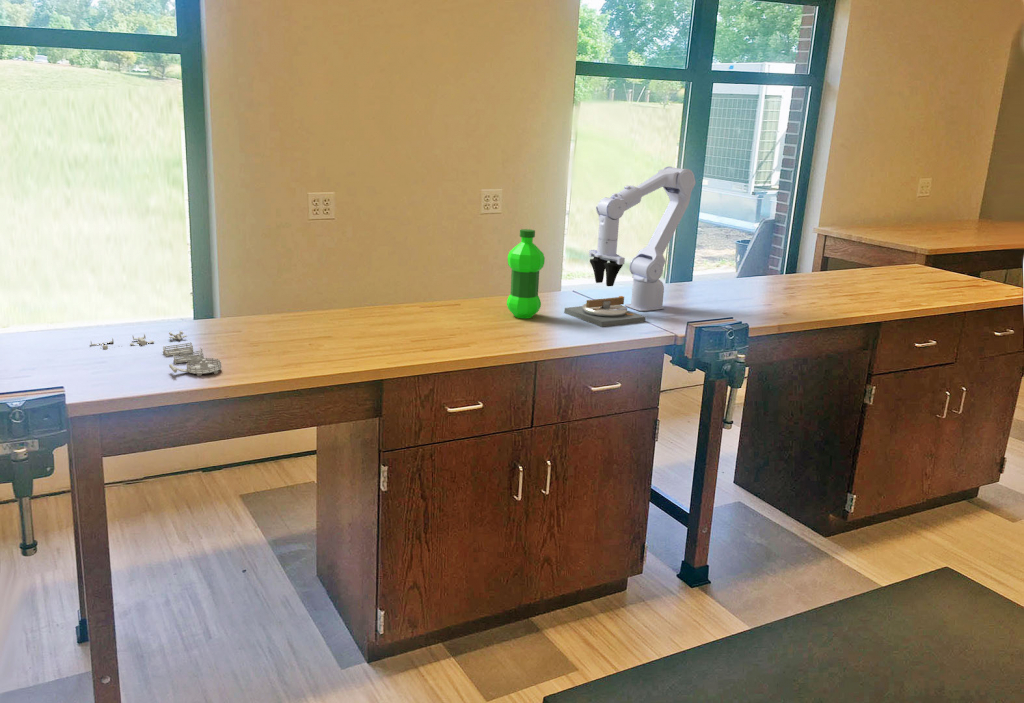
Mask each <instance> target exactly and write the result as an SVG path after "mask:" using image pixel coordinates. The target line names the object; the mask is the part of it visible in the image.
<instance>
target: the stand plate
mask: <svg viewBox="0 0 1024 703" xmlns="http://www.w3.org/2000/svg"><path fill="white" fill-rule="evenodd" d="M563 313H564V314H566V315H568V316H571V317H575V318H577V319H580V320H581V321H585V322H588V323H590V324H593V325H595V326H598V327H601V328H606V327H613V326H614V327H615V326H621V325H628V324H637V323H645V322H646V316H644V315H641V314H638V313H636V312H632V311H631V310H627V314H626V315H623V316H615V317H607V316H597V315H591V314H588V313H585V312H584V311H583V305H581V306H571V307H564V312H563Z"/></svg>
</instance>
